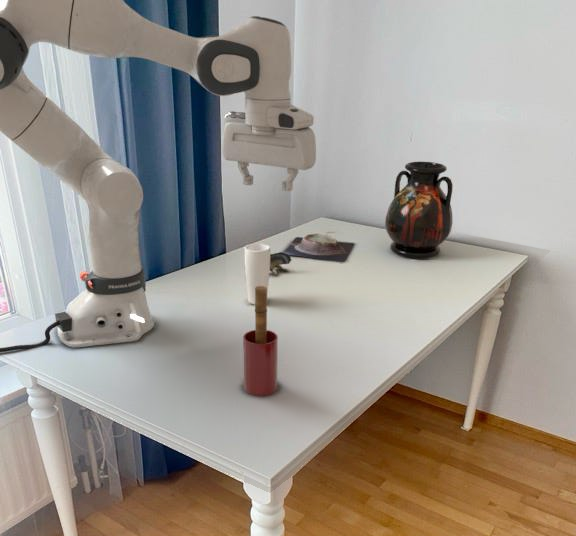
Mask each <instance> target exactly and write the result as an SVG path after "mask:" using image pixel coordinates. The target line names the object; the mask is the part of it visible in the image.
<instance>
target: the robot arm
mask: <svg viewBox="0 0 576 536" xmlns="http://www.w3.org/2000/svg"><path fill="white" fill-rule="evenodd" d="M38 43H47V44H51V45H55V46H57V47H60V48H63V49H66V50H69V51H72V52H74V53H78V54H81V55H85V56H90V57H96V58H101V59H102V58H103V59H119V58H120V59H121V58H138V59H139V58H140V59H144V60H148V61H151V62H155V63H157V64H161V65H164V66H167V67H169V68H172V69H175V70H178V71H181V72H183V73H186V74H187V75H189V76H190V77H192V78H193V79H194V80H195V82H196V83H198V84H199V85H200V86H201V87H202V88H204V89H205V90H206V91H207V92H209V93H211V94H212V95H215V96H218V97H229V96H232V95H234V94H240V93H244V112H243V111H240V112H239V111H238V112H237V111H229V112H228V113H226V114H225V115H224V117H223V120H222V122H223V132H222V143H221V144H222V145H221V153H222V157H223V158H224V159H225V160H226V161H231V162H237V169H238V170H239V172H240V174H241V176H242V185H244V186H252V185H254V175H253V174H250V171H249V169H248V167H249V166H250V164H252V165H253V164H254V165H261V166H268V167H269V166H270V167H275V168H285V169H287V170H286V173H287V174H288V177H287V179H286V180H284V181H282V191H284V192H291V191H293V189H294V181H295V180H296V177H297V176H298V174H299V170H300V171H306V170H310V169H312V168H313V167H314V166H315V165H316V161H317V143H316V135H315V132H314V130H313V129H312V128H311V127H312V126H313V125H314V121H315V120H314V115H313V114H311V113H310V112H308V111H305V110H303V109H302V108H299V107H297V106H296V105H293V104H291V103H292V97H291V92H290V80H291V76H292V43H291V35H290V31H289V29H288V27H287V26H286V25H285V24H284V23H282V21H278V20H276V19H272V18H269V17H265V16H259V15H253V16H250V17H248V18H247V19H246V20H245V21H244V22H243V23H241V24H240V25H238V26H237V27H235V28H233V29H232V30H230V31H227V32H225V33H222V34H220V35H207V36H201V37H197V36H192V35H187V34H185V33H182V32H179V31H177V30H173V29H171V28H168V27H166V26H163V25H160V24H157V23H156V22H153V21H151V20H149V19H147V18H145V17H144V16H143V15H141V14H139V13H138V12H137V11H136V10H134V9H133V8H132V7H130V6H129V4H127V3H126V2H125V1H124V0H0V132H1V133H2V134H3V135H4V136H6V137H7V138H8V139H9V140H10V141H12V142H13V143H14V144H15V145H16V146H18V147H19V148H20V149H21V150H23V151H24V152H25V154H27V155H29V156H30V157H32V159H33V160H35V161H36V162H37V163H38V164H40V165H41V166H42V167H43V168H45V169H46V170H47V171H48V172H50V173H51V174H52V175H53V176H55V177H56V179H58V180H59V181H61V182H62V183H63V184H64V185H66V186H67V187H69V188H70V189H71V190H72V191H73V192H74V193H75V194H77V195H78V196H79V197H81V198H82V199H83V200H84V201H85V202H86V204H87V209H88V223H89V224H88V236H87V243H88V250H89V256H90V263H91V271H90V272H89V273H88V272H87V270H82V271H80V273H79V275H78V276H79V278H80V279H81V281H83V282H84V284H85V289H84V290H82V292H80V293H79V294H78V295H77V296H76V297H75V298H73V300H71V301H70V302H69V303H68V305H67V306H66V309H65V311H60V312H57V313H54V317H55V321H54V322H53V323H51V324H50V325H48V326H47V327H46V329H44V330H45V331H44V336H45V339H44V340H42V341H41V342H39V343H35V344H19V345H11V346H4V347H0V353H6V352H12V351H19V350H30V349H35V348H39V347H43V346H46V345H47V344H48V343H50V341H51V334H50V332H51V331H52V330H53V329H55V328H56V327H57V337H58V339H59V341H60V342H61V343H63V344H64V345H65V346H67V347H69V348H74V349H75V348H84V347H85V348H86V347H92V346H93V347H94V346H103V345H111V344H122V343H130V342H137V341H139V340H140V339H141V338H142V336H143V335H144V334H147V333H148V332H150V331H151V330H152V329H153V327H155V321H154V317H153V316H152V314H151V311H150V306H149V304H148V300H147V296H146V292H147V289H146V287H147V283H146V274H145V271H144V268H142V259H141V250H140V240H139V230H140V217H141V208H142V205H143V202H144V191H143V187H142V185H141V183H140V181H139V179H138V177H137V176H136V174H135V172H133V171H132V170H131V169H130V168H129V167H127V166H125V165H124V164H122V163H120V162H119V161H117V160H116V159H115V158H113V157H112V156H111V155H109V154H108V153H107V152H106V151H105V150H104V149H103V148H102V147H101V146H100V145H99V144H97V142H96V141H95V140H94V139H92V137H91V136H90V135H89V134H88V133H87V132H86V131H85V130H84V129H83V128H82V127H81V125H79V124H78V123H77V122H76V121H74V119H73V118H71V117H70V116H69V115H68V114H67V113H66V112H65V111H63V109H62V108H60V107H59V105H57V104H56V103H55V102H54V101H53V100H52V99H50V97H49V96H47V95H46V94H45V93H44V92H43V91H41V89H39V87H37V86H36V85H35V84H34V83H33V82H32V81H31V80H30V78H28V76H27V75H26V73H25V71H24V66H25V63H26V62H27V59H28V57H29V54H30V48H31V47H32V46H33V45H34V44H38Z"/></svg>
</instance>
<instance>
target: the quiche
mask: <svg viewBox="0 0 576 536" xmlns="http://www.w3.org/2000/svg"><path fill="white" fill-rule="evenodd" d="M353 246H354V243H353V242H347V241H337V239H336V238H335V237H332V236H330V235H328V234H322V233H311V234H307V235H305V236H304V237H300V236H297V237H295V238H294V239H293V240H292V242H291V243H290V244H289V245H288V247H286V248H285V250H284V251H283V252H282V253H286V254H288V255H289V256H294V257H304V258H309V259H310V258H311V259H316V260H317V259H318V260H324V261H330V262H339V263H341V262H345V261H346V259H347V257H348V255H349V253H350V252H351V250H352V248H353Z"/></svg>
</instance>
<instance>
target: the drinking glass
mask: <svg viewBox="0 0 576 536" xmlns="http://www.w3.org/2000/svg"><path fill="white" fill-rule="evenodd" d="M270 254H271V247H270V245H268V244H264V243H250V244H247V245H244V249H243V262H244V273H245V283H246V291H247V292H246V293H247V294H246V295H247V296H246V297H247V298H246V299H247V302H248V303H249V304H251V305H254V306H255V287H257V286H265V287H266V288H267V294H268V291H269V280H270V271H271V270H270Z"/></svg>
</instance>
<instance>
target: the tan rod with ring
mask: <svg viewBox="0 0 576 536" xmlns="http://www.w3.org/2000/svg"><path fill="white" fill-rule="evenodd" d="M254 320H255V321H254V323H255V324H254V325H255V327H254V328H255V329H254V330H255V342H256V344H266V343H267V330H268V293H267V288H266V287H265V286H257V287H255V305H254Z"/></svg>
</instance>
